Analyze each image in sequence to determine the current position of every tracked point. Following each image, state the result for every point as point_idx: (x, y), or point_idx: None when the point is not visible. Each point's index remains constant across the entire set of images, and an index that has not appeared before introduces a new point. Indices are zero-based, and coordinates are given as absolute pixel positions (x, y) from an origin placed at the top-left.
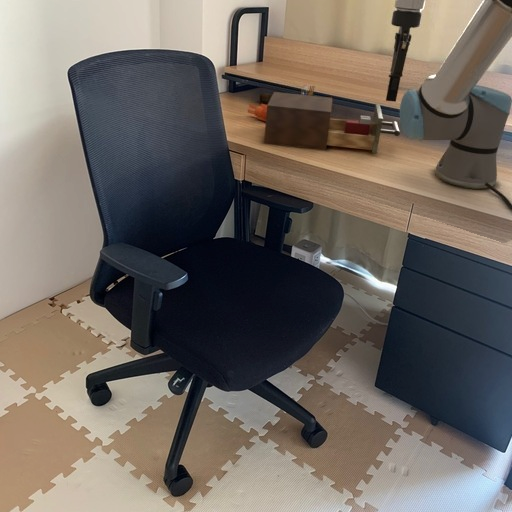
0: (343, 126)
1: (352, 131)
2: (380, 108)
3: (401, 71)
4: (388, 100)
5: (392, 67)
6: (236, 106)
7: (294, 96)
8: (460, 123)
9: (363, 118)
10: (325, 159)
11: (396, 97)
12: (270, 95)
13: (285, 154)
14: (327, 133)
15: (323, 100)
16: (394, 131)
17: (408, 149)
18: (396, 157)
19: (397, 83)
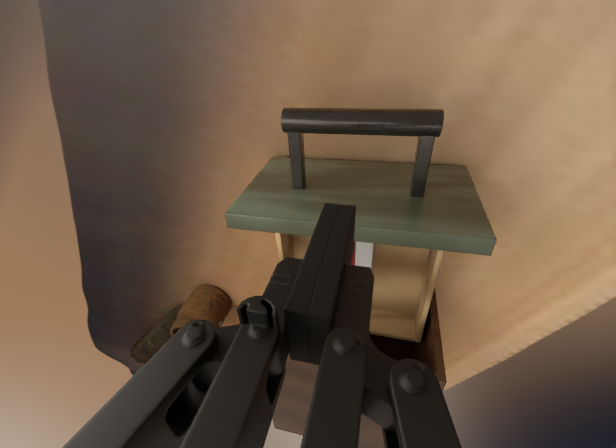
0: (289, 255)
1: (373, 253)
2: (300, 221)
3: (454, 439)
4: (353, 242)
5: (267, 430)
6: None
7: (294, 409)
8: None
9: (368, 261)
10: (516, 294)
11: (353, 220)
12: (147, 354)
13: (482, 355)
14: (438, 322)
15: (301, 369)
16: (434, 138)
17: (359, 24)
18: (477, 87)
19: (371, 305)
